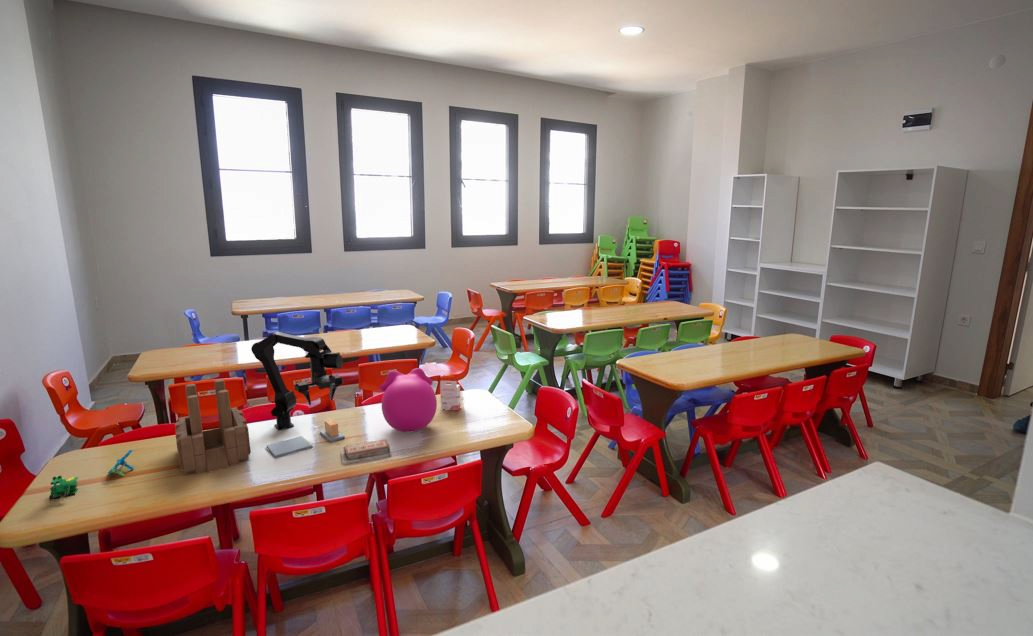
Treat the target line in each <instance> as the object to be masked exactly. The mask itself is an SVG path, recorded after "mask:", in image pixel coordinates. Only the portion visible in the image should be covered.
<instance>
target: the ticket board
mask: <svg viewBox="0 0 1033 636" xmlns="http://www.w3.org/2000/svg"><path fill="white" fill-rule="evenodd" d="M265 447H266V449H267V450H268V451H269V452H270V453H271V455H272V456H273V457H274V458H275V459H277V458H280V457H283V456H284V457H285V456H287V455H290V454H295V453H298V452H302V451H305V450H309V449H312V448H313V444H312V443H310V441H308V439H306V438H305V437H304V436H303V435H300V436H297V437H292V438H289V439H286V440H282V441H278V442H273V443H270V444H267V445H266V446H265Z"/></svg>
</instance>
